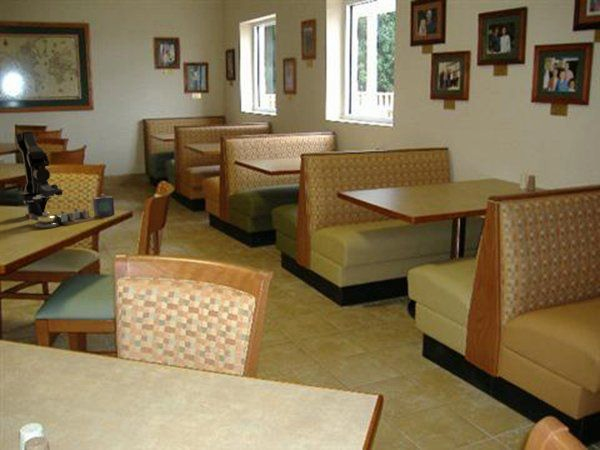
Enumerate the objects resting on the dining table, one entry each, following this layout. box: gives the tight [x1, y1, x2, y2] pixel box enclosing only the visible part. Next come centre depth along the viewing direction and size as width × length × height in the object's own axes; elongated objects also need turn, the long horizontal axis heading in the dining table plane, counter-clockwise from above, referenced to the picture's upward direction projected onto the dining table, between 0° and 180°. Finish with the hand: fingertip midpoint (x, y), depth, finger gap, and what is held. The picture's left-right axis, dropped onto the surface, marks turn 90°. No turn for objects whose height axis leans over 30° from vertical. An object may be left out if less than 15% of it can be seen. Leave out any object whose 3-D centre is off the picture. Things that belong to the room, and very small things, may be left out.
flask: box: [92, 193, 115, 218], centre depth 290 cm, size 9×3×11 cm, turn 115°
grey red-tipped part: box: [28, 214, 55, 224], centre depth 272 cm, size 15×7×3 cm, turn 57°
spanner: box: [53, 209, 90, 222], centre depth 279 cm, size 5×16×3 cm, turn 147°
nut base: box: [34, 211, 60, 230], centre depth 270 cm, size 10×10×6 cm
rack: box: [59, 207, 95, 226], centre depth 280 cm, size 9×14×5 cm, turn 147°
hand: (42, 212), depth 278 cm, fingers closed
